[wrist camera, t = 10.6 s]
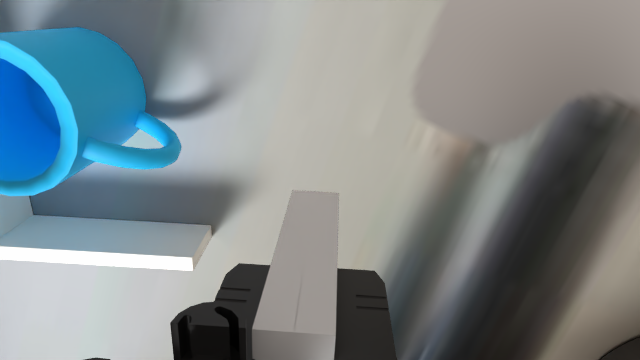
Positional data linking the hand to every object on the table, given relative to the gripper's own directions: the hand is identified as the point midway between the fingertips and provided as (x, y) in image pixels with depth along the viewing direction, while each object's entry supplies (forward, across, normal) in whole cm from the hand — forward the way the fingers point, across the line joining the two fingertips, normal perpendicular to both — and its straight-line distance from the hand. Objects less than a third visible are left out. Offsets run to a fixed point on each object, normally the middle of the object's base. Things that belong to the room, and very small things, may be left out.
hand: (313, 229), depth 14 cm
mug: (+16, +14, 0) cm, 21 cm away
